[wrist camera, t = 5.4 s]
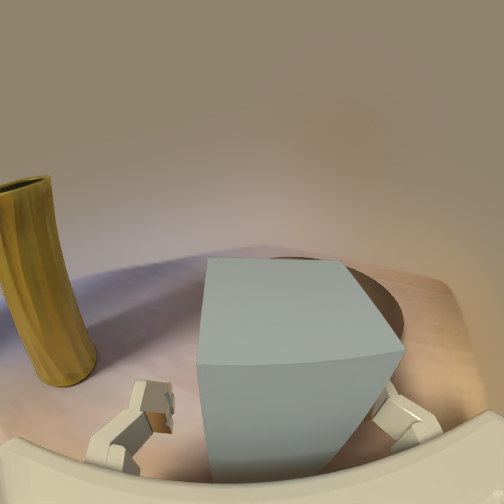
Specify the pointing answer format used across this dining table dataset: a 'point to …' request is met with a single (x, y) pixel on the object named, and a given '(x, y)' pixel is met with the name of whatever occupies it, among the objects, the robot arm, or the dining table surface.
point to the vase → (41, 284)
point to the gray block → (286, 365)
